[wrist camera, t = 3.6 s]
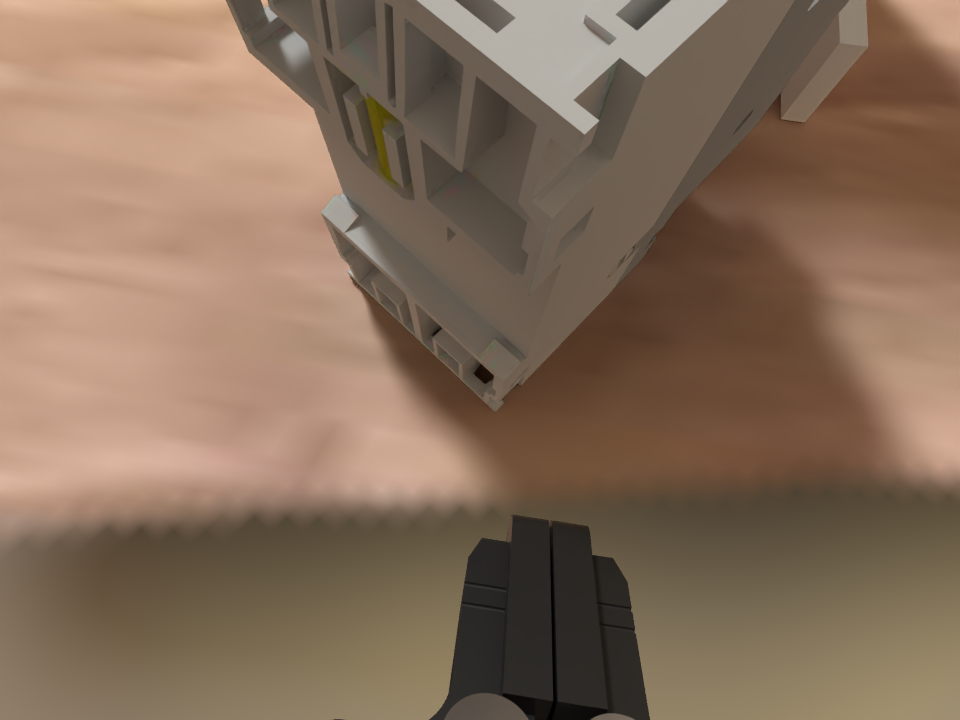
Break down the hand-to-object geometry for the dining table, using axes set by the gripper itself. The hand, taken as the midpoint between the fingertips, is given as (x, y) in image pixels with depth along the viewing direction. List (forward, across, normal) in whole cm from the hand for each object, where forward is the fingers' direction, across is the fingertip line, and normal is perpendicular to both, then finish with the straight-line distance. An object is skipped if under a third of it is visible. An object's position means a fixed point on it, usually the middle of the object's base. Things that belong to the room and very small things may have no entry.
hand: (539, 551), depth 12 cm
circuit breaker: (+15, 0, -3) cm, 15 cm away
